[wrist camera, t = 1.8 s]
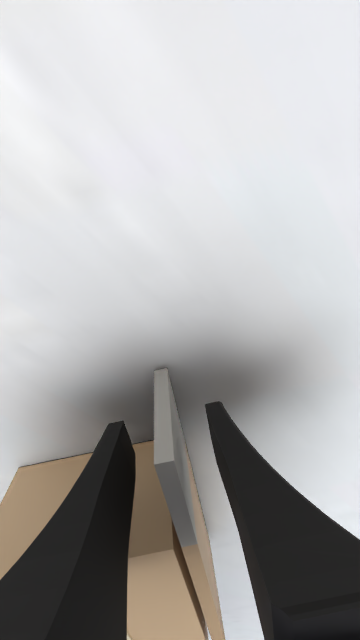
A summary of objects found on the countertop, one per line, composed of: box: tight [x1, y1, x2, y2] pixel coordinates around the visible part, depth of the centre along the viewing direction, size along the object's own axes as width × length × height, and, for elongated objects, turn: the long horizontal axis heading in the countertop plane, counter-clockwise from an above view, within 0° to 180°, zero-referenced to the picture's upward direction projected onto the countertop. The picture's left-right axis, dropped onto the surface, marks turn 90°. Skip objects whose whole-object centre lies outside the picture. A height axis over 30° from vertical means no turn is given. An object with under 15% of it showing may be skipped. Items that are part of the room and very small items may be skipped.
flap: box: [154, 368, 225, 640], centre depth 13 cm, size 14×1×5 cm, turn 10°
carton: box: [0, 440, 208, 640], centre depth 14 cm, size 10×8×5 cm
